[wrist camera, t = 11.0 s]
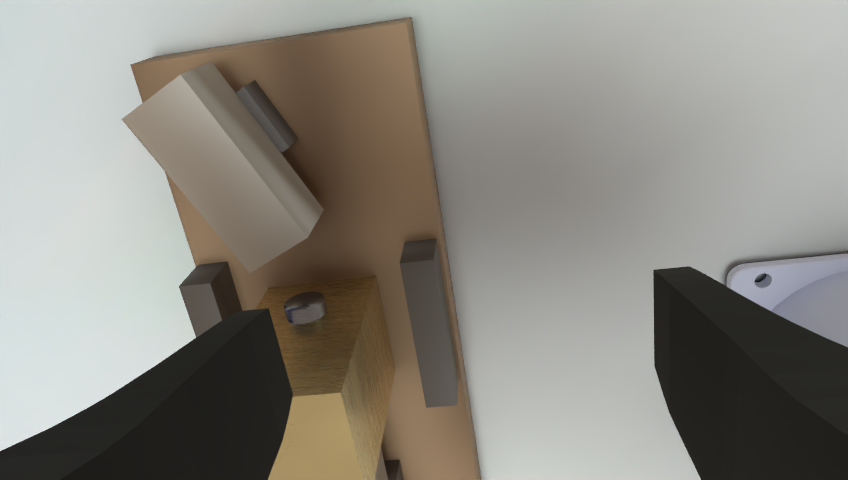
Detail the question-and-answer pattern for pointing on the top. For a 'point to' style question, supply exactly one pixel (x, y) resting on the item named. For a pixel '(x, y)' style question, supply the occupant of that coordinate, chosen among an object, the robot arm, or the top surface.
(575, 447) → the top surface
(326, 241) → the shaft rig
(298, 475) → the wooden block with knob
